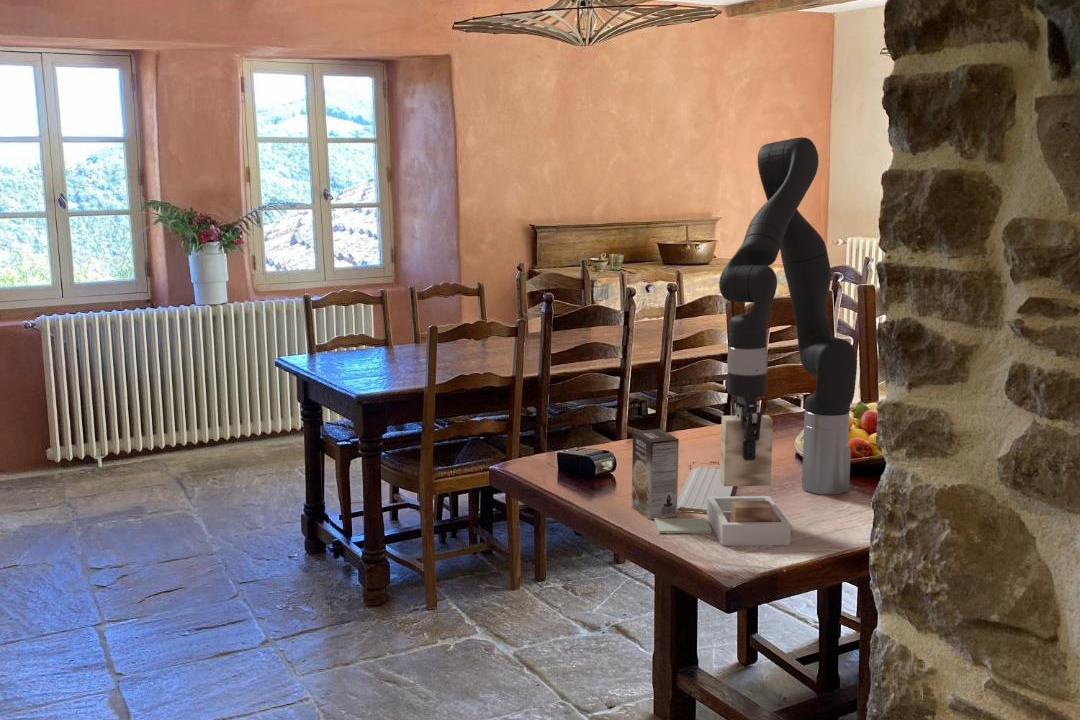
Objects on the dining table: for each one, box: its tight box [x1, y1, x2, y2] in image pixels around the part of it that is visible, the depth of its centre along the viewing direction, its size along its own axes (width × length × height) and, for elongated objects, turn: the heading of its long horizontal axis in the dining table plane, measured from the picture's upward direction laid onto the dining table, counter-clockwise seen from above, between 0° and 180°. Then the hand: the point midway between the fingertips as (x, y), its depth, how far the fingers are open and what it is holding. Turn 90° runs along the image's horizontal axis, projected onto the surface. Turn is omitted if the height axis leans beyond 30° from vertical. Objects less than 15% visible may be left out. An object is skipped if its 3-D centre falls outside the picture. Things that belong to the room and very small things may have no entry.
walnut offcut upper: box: [731, 501, 773, 523], centre depth 193 cm, size 7×4×4 cm, turn 91°
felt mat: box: [654, 517, 713, 534], centre depth 201 cm, size 10×7×1 cm
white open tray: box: [706, 495, 791, 547], centre depth 199 cm, size 12×17×4 cm
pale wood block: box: [719, 414, 774, 487], centre depth 201 cm, size 9×4×13 cm, turn 91°
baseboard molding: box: [677, 461, 735, 514], centre depth 224 cm, size 31×3×12 cm
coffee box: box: [631, 428, 680, 520], centre depth 209 cm, size 9×6×16 cm
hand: (746, 456), depth 201 cm, fingers closed on pale wood block, 4 cm apart
